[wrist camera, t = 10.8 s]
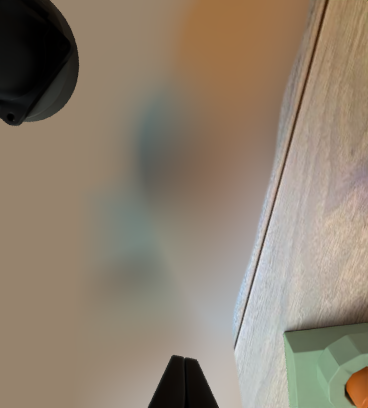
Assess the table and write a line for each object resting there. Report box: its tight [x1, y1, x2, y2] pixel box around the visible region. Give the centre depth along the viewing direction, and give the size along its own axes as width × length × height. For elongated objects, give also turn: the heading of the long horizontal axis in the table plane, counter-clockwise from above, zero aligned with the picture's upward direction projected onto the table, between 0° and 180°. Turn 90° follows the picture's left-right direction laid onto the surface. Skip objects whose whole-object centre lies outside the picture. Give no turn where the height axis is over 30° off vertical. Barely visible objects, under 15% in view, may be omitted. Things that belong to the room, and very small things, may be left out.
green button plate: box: [284, 323, 368, 408], centre depth 21 cm, size 15×10×4 cm, turn 10°
